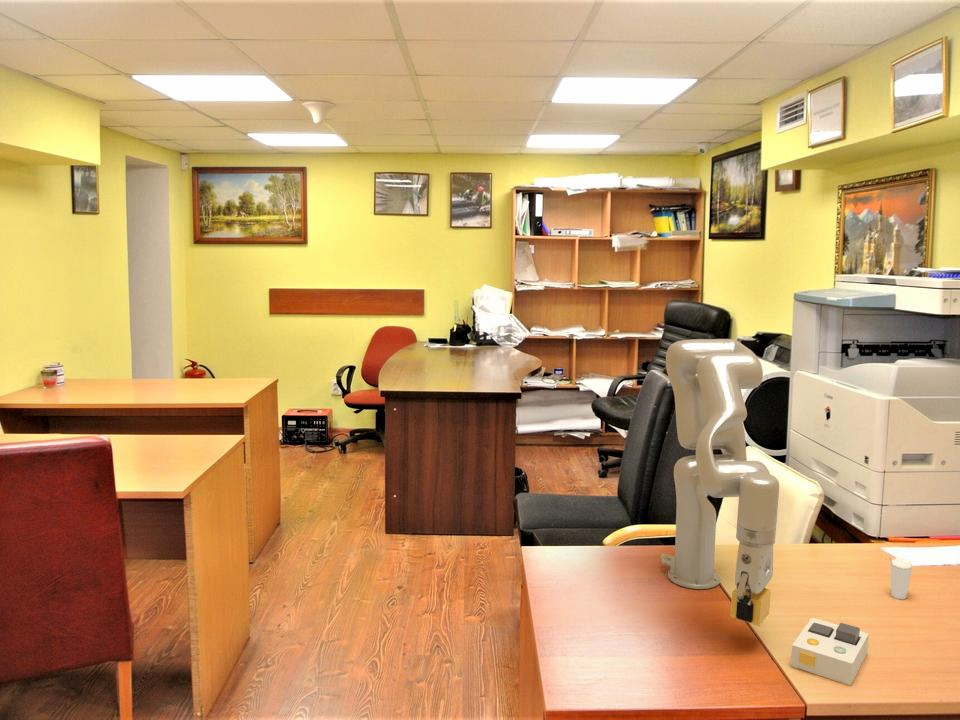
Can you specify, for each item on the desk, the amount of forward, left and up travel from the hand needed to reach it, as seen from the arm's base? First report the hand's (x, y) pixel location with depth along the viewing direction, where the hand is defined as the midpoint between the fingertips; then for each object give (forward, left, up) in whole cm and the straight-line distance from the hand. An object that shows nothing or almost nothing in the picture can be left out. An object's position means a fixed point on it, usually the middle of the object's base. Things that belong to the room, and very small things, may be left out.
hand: (749, 612), depth 159 cm
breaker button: (+18, +6, -4) cm, 19 cm away
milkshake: (+21, +42, -7) cm, 48 cm away
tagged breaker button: (+13, +6, -6) cm, 15 cm away
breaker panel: (+15, +3, -7) cm, 17 cm away
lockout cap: (0, 0, -1) cm, 1 cm away
